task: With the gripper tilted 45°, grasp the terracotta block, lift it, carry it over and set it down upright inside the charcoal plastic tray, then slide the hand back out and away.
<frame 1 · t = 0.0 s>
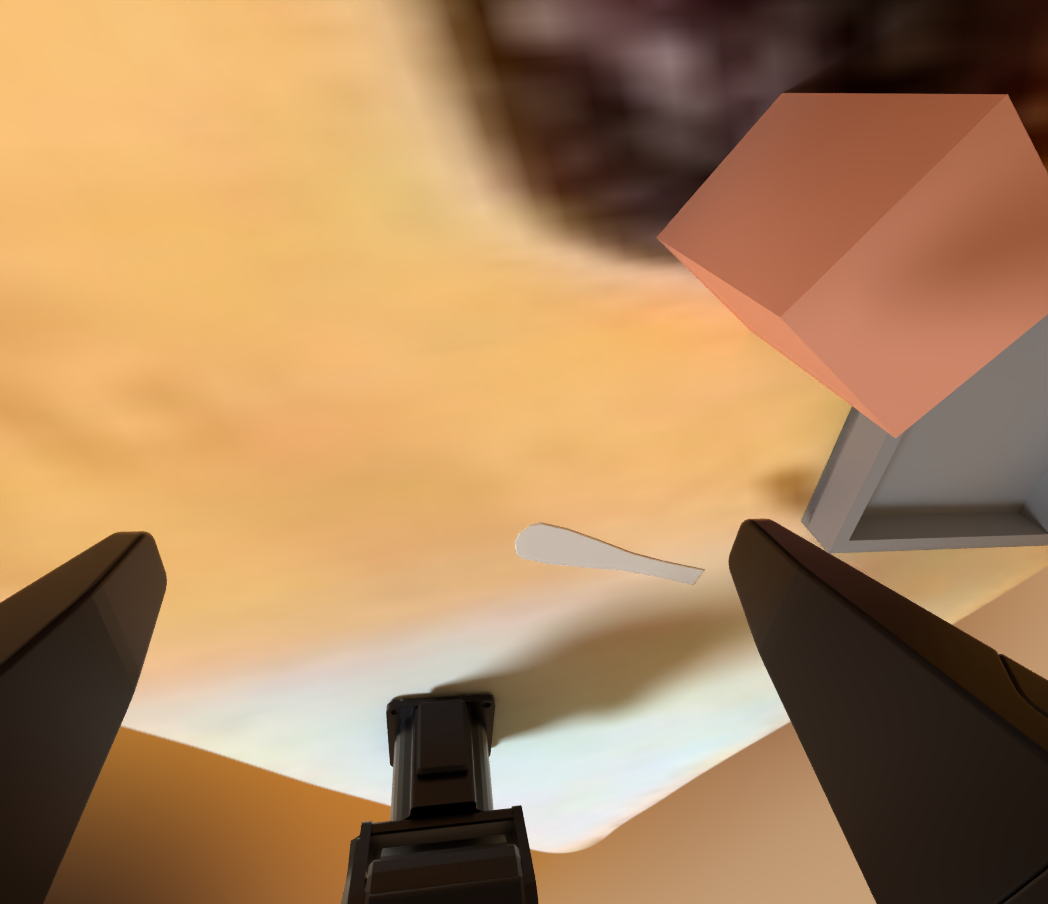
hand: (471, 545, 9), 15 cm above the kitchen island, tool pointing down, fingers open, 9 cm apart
butter knife: (706, 571, 32), on the kitchen island
charcoal tray: (972, 412, 28), on the kitchen island
terracotta block: (763, 223, 22), on the kitchen island
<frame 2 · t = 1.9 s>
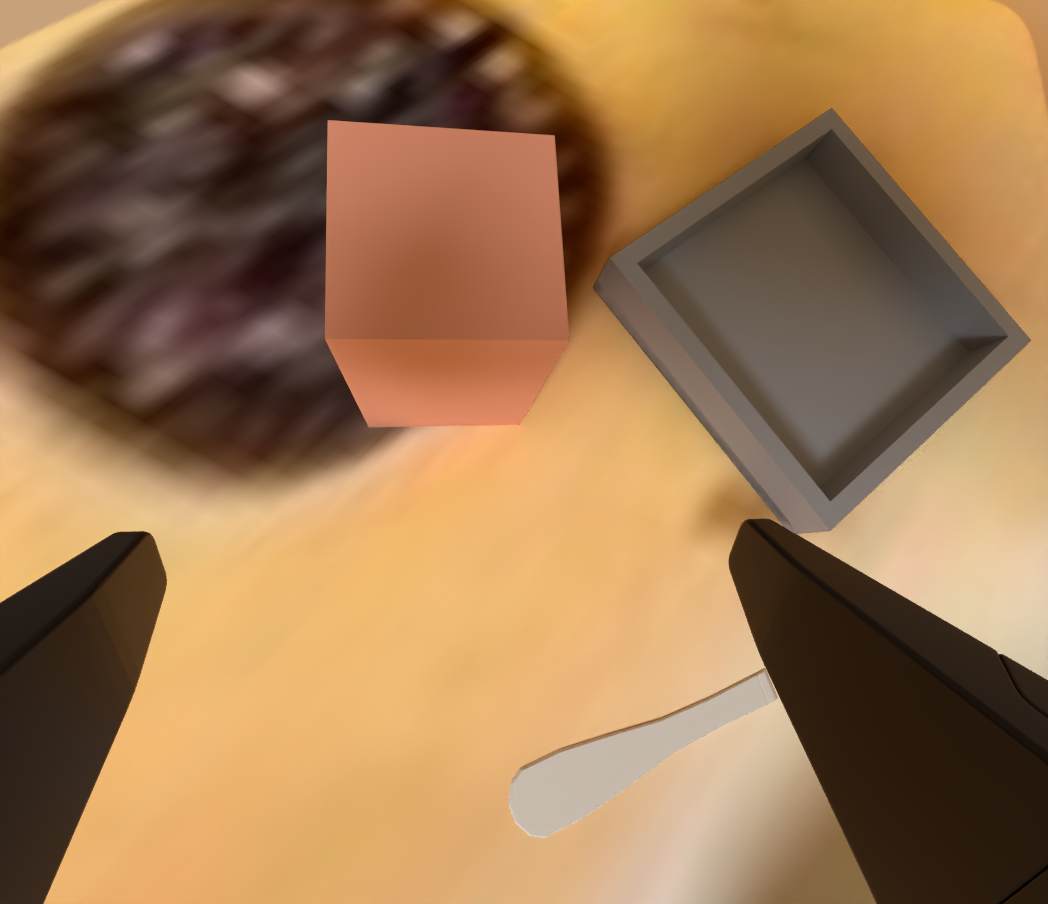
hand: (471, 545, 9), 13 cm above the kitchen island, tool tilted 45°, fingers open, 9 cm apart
butter knife: (776, 671, 23), on the kitchen island
charcoal tray: (794, 325, 26), on the kitchen island
terracotta block: (443, 355, 23), on the kitchen island
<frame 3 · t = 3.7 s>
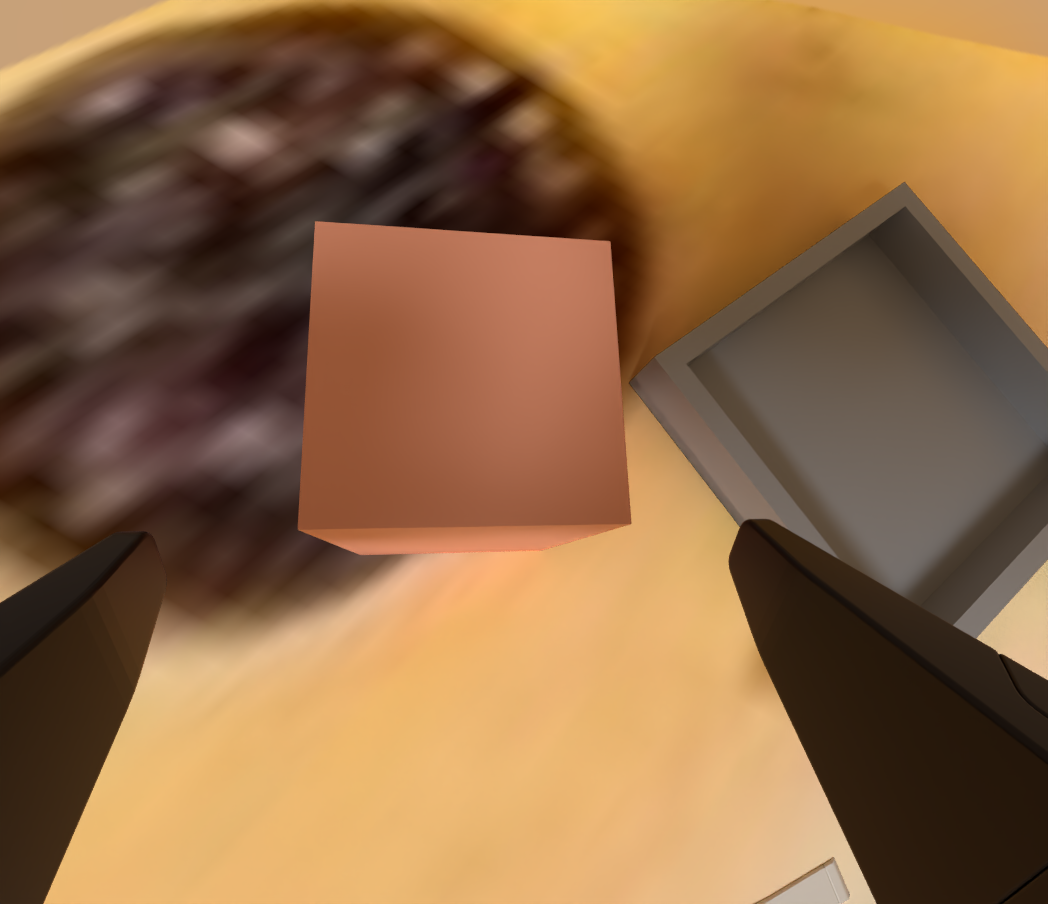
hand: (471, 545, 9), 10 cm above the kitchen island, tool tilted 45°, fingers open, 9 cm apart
butter knife: (845, 856, 19), on the kitchen island
charcoal tray: (859, 428, 22), on the kitchen island
terracotta block: (453, 464, 19), on the kitchen island
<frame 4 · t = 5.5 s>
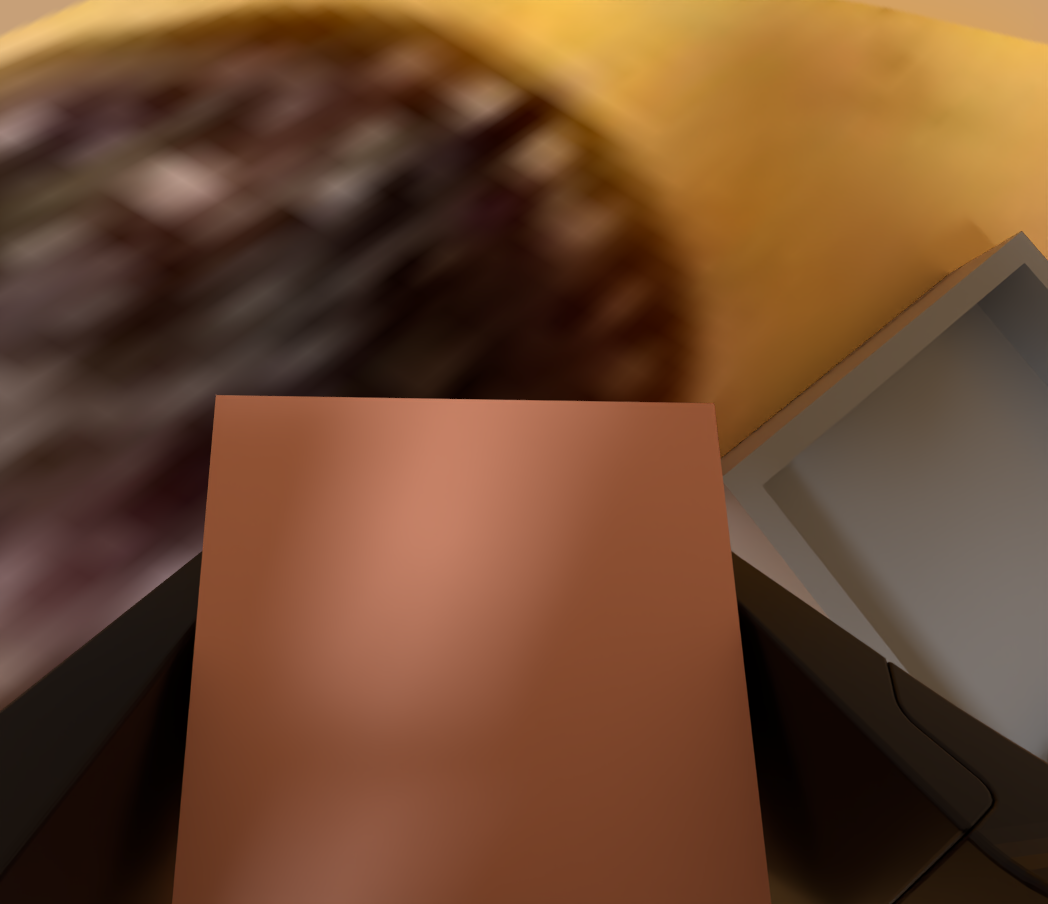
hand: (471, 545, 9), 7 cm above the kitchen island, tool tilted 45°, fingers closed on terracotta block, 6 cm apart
charcoal tray: (965, 541, 18), on the kitchen island
terracotta block: (454, 614, 15), on the kitchen island, touching gripper
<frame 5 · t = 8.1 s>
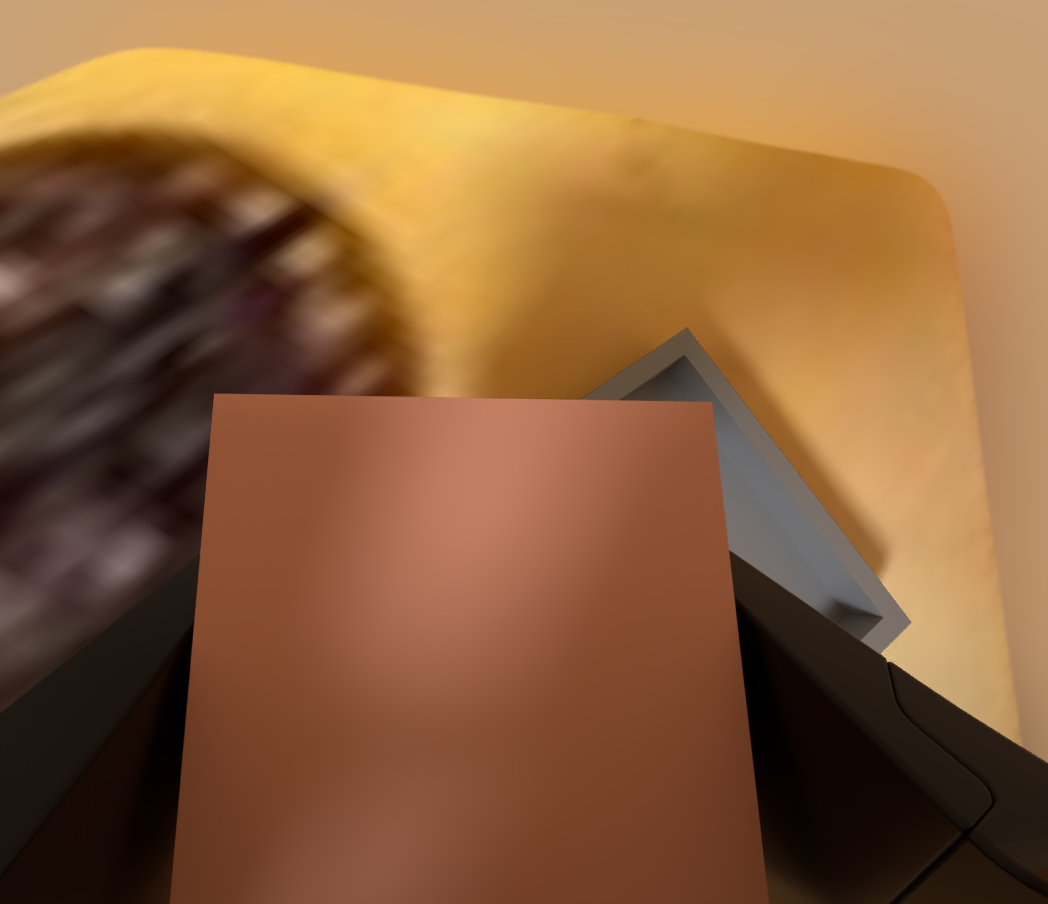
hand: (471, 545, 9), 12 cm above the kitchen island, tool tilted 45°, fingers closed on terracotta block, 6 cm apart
charcoal tray: (637, 579, 22), on the kitchen island
terracotta block: (453, 613, 15), point 6 cm above the kitchen island, touching gripper
when the fingers open (8 cm above the kitchen island, at t = 10.9 s): terracotta block stays where it is, resting on charcoal tray.
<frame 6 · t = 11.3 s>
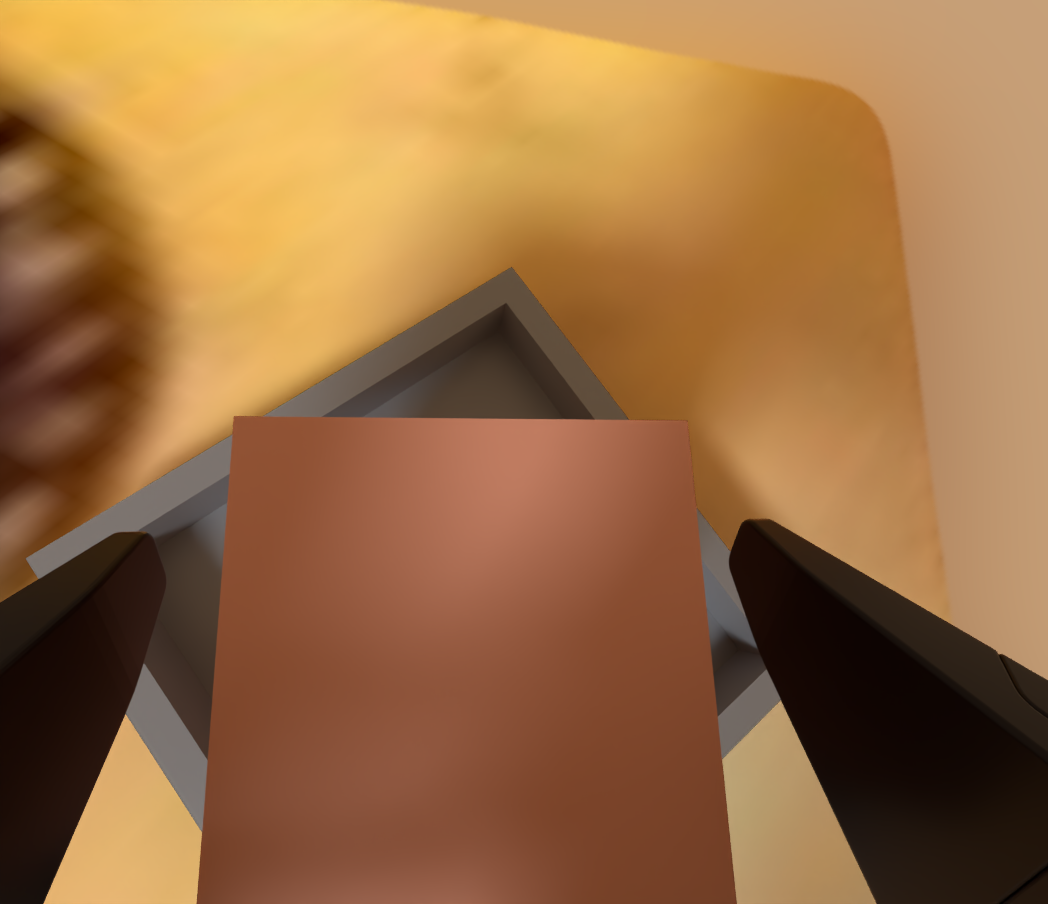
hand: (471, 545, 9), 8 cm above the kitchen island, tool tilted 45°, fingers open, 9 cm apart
charcoal tray: (452, 610, 16), on the kitchen island
terracotta block: (451, 612, 16), point 1 cm above the kitchen island, touching charcoal tray
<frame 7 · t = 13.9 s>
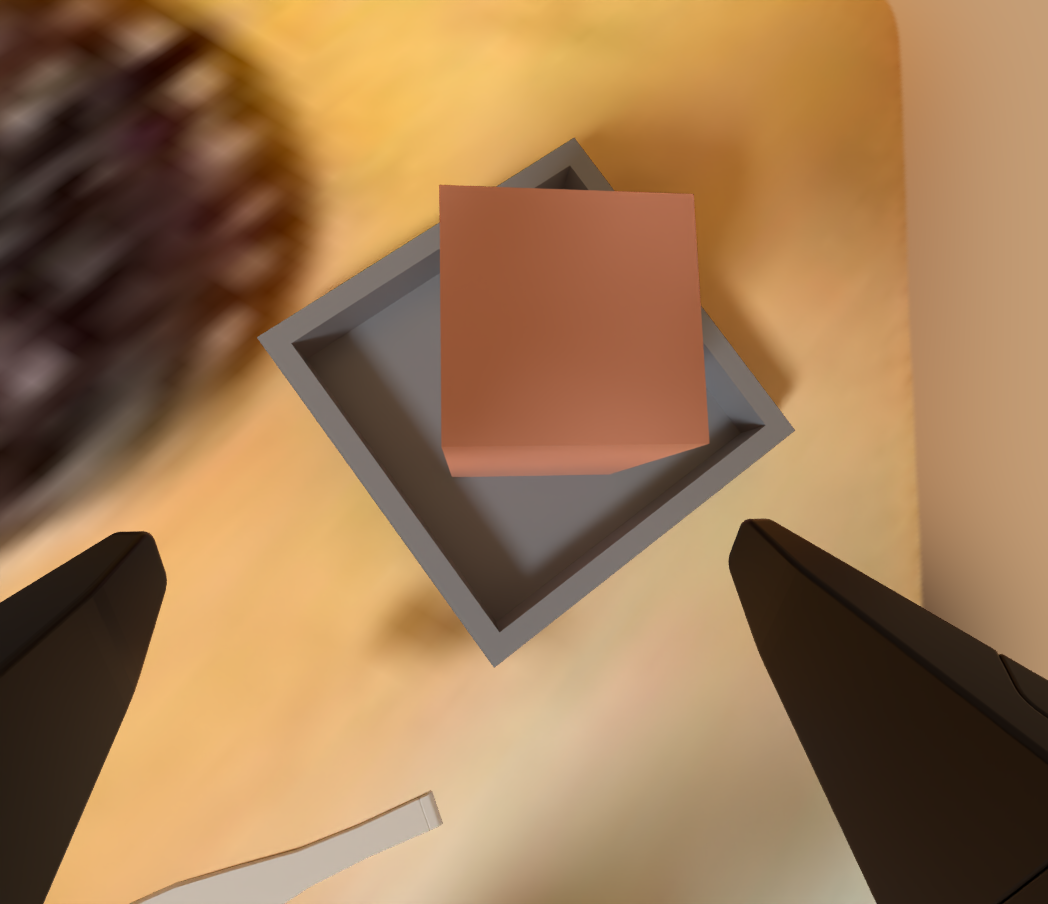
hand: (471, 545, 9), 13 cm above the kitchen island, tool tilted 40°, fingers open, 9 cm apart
butter knife: (454, 789, 21), on the kitchen island
charcoal tray: (528, 400, 22), on the kitchen island
terracotta block: (529, 398, 22), point 1 cm above the kitchen island, touching charcoal tray
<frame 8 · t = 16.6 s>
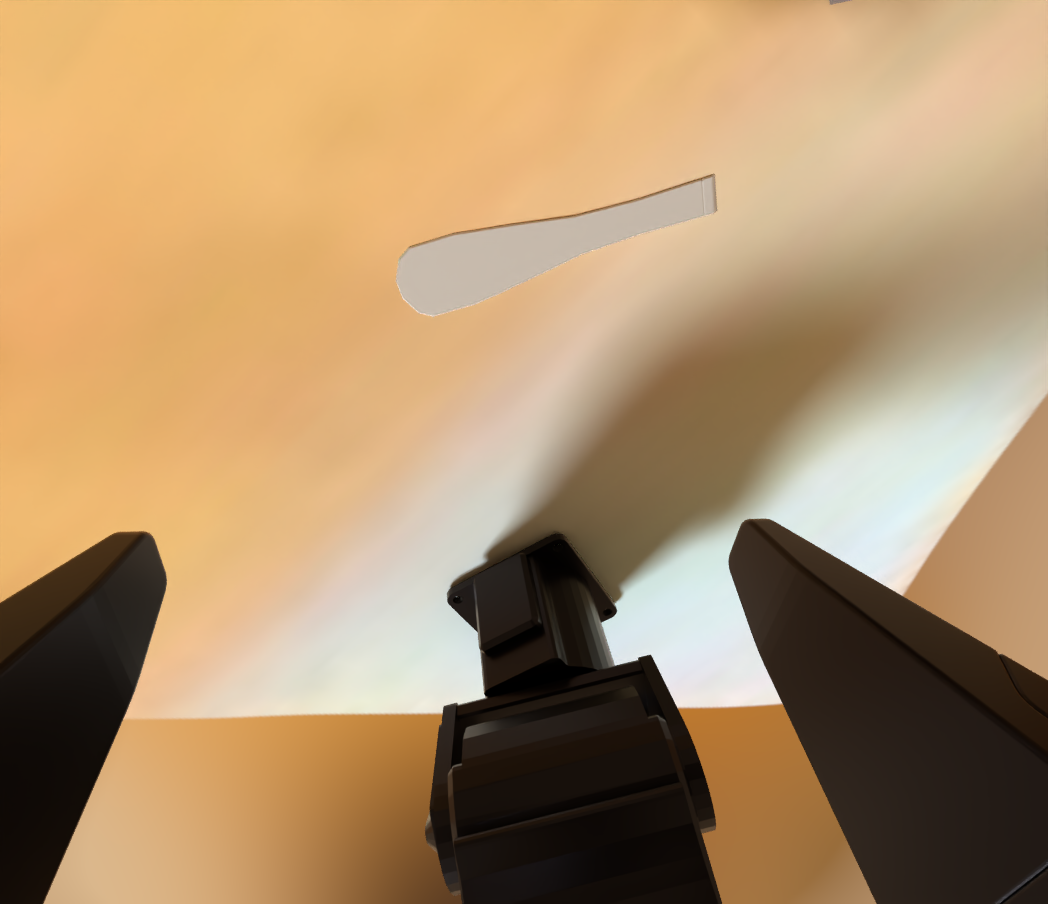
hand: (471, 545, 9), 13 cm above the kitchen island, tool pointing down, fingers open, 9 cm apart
butter knife: (728, 182, 19), on the kitchen island
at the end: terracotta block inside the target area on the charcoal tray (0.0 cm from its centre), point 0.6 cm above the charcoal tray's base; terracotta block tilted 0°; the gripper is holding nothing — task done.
